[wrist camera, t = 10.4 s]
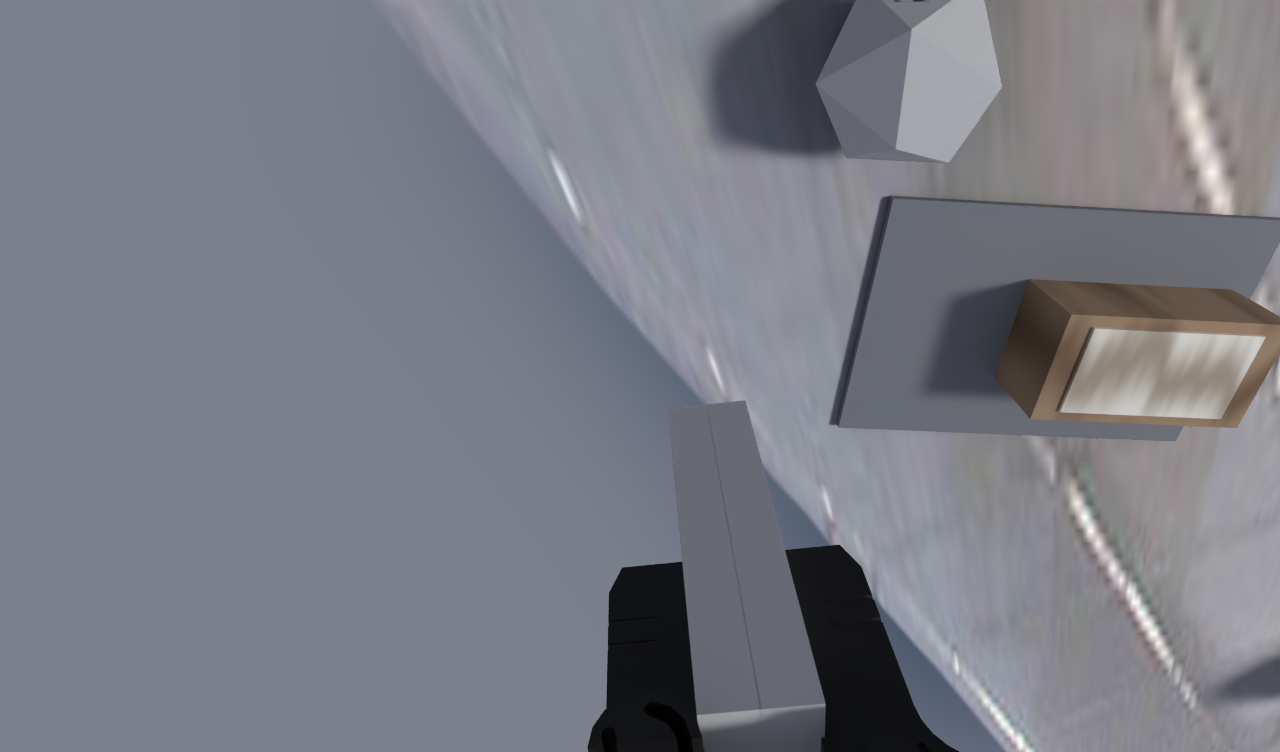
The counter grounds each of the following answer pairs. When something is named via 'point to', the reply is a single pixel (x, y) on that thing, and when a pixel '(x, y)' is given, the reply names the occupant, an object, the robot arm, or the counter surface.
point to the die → (909, 78)
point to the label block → (1137, 353)
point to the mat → (1014, 301)
